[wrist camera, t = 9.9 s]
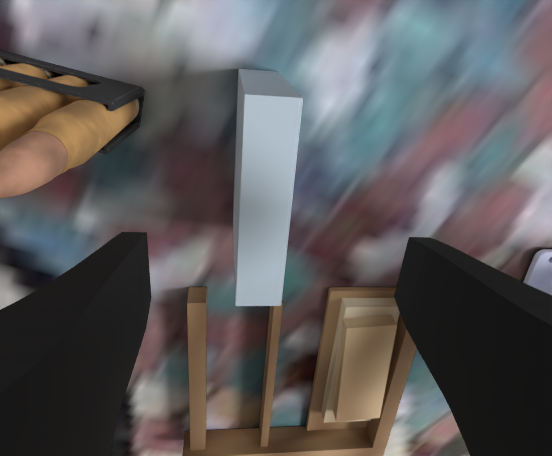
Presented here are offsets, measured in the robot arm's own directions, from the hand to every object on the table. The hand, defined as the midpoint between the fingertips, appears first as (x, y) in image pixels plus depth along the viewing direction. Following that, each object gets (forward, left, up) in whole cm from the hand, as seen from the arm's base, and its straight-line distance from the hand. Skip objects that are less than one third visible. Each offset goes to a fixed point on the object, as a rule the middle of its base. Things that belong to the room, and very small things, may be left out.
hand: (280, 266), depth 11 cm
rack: (-3, +14, -10) cm, 18 cm away
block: (0, 0, -10) cm, 11 cm away
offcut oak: (-7, +13, -9) cm, 18 cm away
